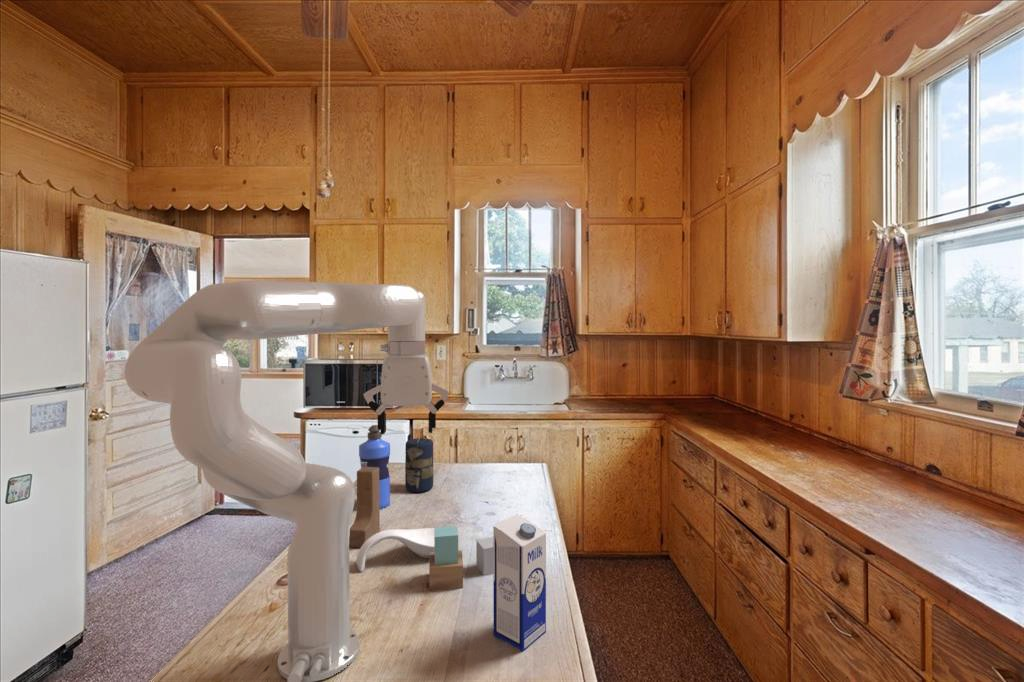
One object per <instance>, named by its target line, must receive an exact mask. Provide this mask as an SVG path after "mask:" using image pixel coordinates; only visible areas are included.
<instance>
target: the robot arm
mask: <svg viewBox="0 0 1024 682" xmlns="http://www.w3.org/2000/svg"><path fill="white" fill-rule="evenodd" d="M375 328H376V329H377V328H379V329H380V328H387V343H384V344H381V345H380V352H384V353H385V352H386V353H387V356H384V357H383V361H382V368H381V369H382V370H381V378H380V379H381V380H380V382H381V383H380V384H379V385H377V386H375V387H373V388H371V389H369V390H367V391H366V392H364V393H363V397H364V399H365V401H366V403H367V405H368V407H369V408H370V409H371V410H373V412H375V414H376V415H377V425H378V430H380V432H381V434H382V435H384V434H386V433H387V413H386V411H385V410H386V409H387V408H388V407H417V406H425V407H426V408H427V409H428V411H429V412H428V433H429V434H432V433H433V429H436V427H437V420H436V416H437V412H439V410H440V409H441V408H442V407H443V406H444V405H445V403H446V401H447V399H448V397H449V395H450V391H449V390H448V389H445V388H443V387H441V386H439V385H437V384H435V383H433V382H432V381H433V380H432V370H431V362H430V357H429V356H426V298H425V294H424V293H423V292H422V291H420V290H417V289H415V288H414V287H412V286H411V285H408V284H400V283H399V284H396V283H395V284H394V283H393V284H390V283H389V284H388V283H387V284H385V283H383V284H382V283H379V284H377V283H375V284H374V283H366V284H365V283H346V282H330V281H329V282H328V281H326V282H325V281H324V282H323V281H320V282H319V281H275V280H274V281H273V280H271V281H270V280H268V281H267V280H245V281H244V280H243V281H233V282H221V283H212V284H208V285H206V286H204V287H202V288H201V289H199V290H197V291H195V292H194V293H193V294H192V295H191V296H189V297H188V298H187V299H186V300H185V301H184V302H183V303H182V304H181V305H180V306H178V307H177V308H176V309H175V310H174V311H173V312H172V313H171V314H170V315H168V317H166V318H165V320H163V321H162V322H161V323H160V324H159V325H158V326H156V327H155V328H154V329H153V330H152V331H151V332H150V333H149V334H148V335H147V336H145V338H143V340H142V341H140V343H139V344H137V345H136V347H134V349H132V351H131V353H130V355H129V356H128V358H127V360H126V361H125V362H126V363H125V365H124V371H123V372H124V379H125V382H126V384H127V386H128V387H129V389H130V390H131V391H132V392H133V393H134V394H136V396H138V397H140V398H143V399H144V400H147V401H151V402H155V403H162V404H170V407H169V408H170V411H169V425H170V426H169V427H170V432H171V437H172V442H173V444H174V446H175V448H176V449H175V450H177V451H178V453H179V454H180V455H181V457H183V458H184V459H185V460H186V461H188V462H189V463H191V464H192V465H194V466H196V467H197V468H199V469H201V470H202V474H203V477H204V479H205V481H206V483H207V484H208V485H209V486H210V487H211V488H212V489H213V490H215V491H216V492H218V493H220V494H222V495H224V496H226V497H227V498H231V499H233V500H235V501H237V502H239V503H241V504H243V505H245V506H247V507H250V508H252V509H253V510H256V511H259V512H260V513H263V514H265V515H267V516H271V517H275V518H277V519H281V520H284V521H288V522H291V523H293V524H295V525H296V526H295V527H296V530H295V532H294V535H293V538H292V540H291V542H290V544H289V547H288V551H287V558H286V560H287V561H286V563H287V564H286V565H287V566H286V570H287V571H286V572H287V637H288V638H287V639H288V640H287V644H286V645H284V646H283V648H282V649H281V650H280V652H279V654H278V657H277V658H278V659H277V670H278V673H279V674H280V675H281V676H282V678H284V679H286V680H287V682H319V681H322V680H326V679H328V678H330V677H333V676H335V675H337V674H338V672H339V673H340V672H342V671H343V670H345V669H346V668H347V667H348V666H350V665H351V664H352V663H353V662H354V660H355V659H356V657H357V656H358V654H359V651H360V638H359V635H358V634H357V632H355V631H354V630H353V629H351V621H350V620H351V619H350V617H351V611H350V610H351V607H350V603H351V602H350V600H351V597H350V547H349V535H350V528H351V522H352V517H353V516H352V515H353V511H354V508H355V507H354V506H355V501H356V488H355V485H354V483H353V481H352V479H351V478H350V476H349V475H347V474H346V473H345V472H344V471H341V470H340V469H337V468H334V467H331V466H325V465H320V464H315V463H308V462H306V461H305V458H304V456H303V455H302V453H301V451H300V450H299V449H298V448H297V447H296V446H295V445H294V444H292V443H291V442H289V441H287V440H286V439H284V438H282V437H280V436H278V435H277V434H275V433H274V432H272V431H271V430H269V429H268V428H266V427H264V426H263V425H261V424H260V423H259V422H257V421H255V420H254V418H252V417H250V416H249V415H248V414H247V413H246V412H245V411H244V409H243V407H242V403H241V390H242V389H241V387H242V370H241V367H240V364H239V362H238V359H237V358H236V356H235V355H234V354H233V352H232V351H230V350H229V349H228V348H226V347H225V346H224V345H225V344H226V343H227V342H228V340H235V341H236V340H239V341H240V340H243V341H244V340H246V341H249V340H251V341H253V340H254V341H255V340H267V339H276V338H278V339H279V338H286V337H295V336H308V335H320V334H331V333H332V334H333V333H343V332H349V331H350V332H351V331H358V330H364V329H365V330H366V329H375ZM433 392H435V393H437V394H439V395H440V398H439V400H438V401H437V402H436V403H435V404H434V402H433V401H432V397H433ZM379 393H380V402H381V404H380V405H379V404H378V402H376V401H375V399H374V396H375V395H376V394H379ZM351 662H352V663H351ZM350 663H351V664H350ZM349 664H350V665H349ZM347 665H348V666H347ZM344 668H345V669H344ZM341 670H342V671H341ZM336 673H337V674H336ZM334 674H335V675H334Z"/></svg>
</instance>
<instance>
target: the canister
mask: <svg viewBox="0 0 1024 682" xmlns="http://www.w3.org/2000/svg"><path fill="white" fill-rule="evenodd" d="M404 447H405V456H404V457H405V459H404V460H405V461H404V462H405V467H404V469H405V470H404V471H405V472H404V474H405V475H404V477H405V481H404V483H405V485H404V486H405V489H406V490H407V491H408V492H412V493H424V492H427V491H430V490H431V489H432V488H433V486H434V441H433V440H432V439H430V438H425V437H424V438H423V437H421V436H419V438H412V439H408V440H407V441H406V442H405V446H404Z"/></svg>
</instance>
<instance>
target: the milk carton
mask: <svg viewBox="0 0 1024 682" xmlns="http://www.w3.org/2000/svg"><path fill="white" fill-rule="evenodd" d="M492 527H493V529H492V530H493V536H492V537H493V578H492V579H493V584H492V585H493V587H492V589H493V590H492V591H493V636H494V637H495V638H497V639H499V640H501V639H502V641H503V642H505V643H506V642H507V643H506V644H508V643H509V644H508V645H510V644H511V645H510V646H512V647H514V648H515V647H516V648H515V649H517V648H518V649H517V650H519V649H520V650H519V651H521V650H522V651H521V652H524V651H525V650H526V649H528V648H529V647H530V646H531V645H533V643H535V642H536V641H537V640H538V639H540V638H541V636H543V635H544V634H546V632H547V532H546V531H544V530H543V529H541V527H539V526H537V525H536V524H535V523H533V522H532V521H530V520H529V519H527V517H523V516H522V515H520V514H518V513H516V514H514V515H512V516H509V517H508V518H505V519H504V520H502V521H499V522H496V524H493V525H492Z"/></svg>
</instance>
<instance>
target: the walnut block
mask: <svg viewBox="0 0 1024 682" xmlns="http://www.w3.org/2000/svg"><path fill="white" fill-rule="evenodd" d="M463 562H464V561H463V550H461V549H460V550H459V549H458V563H454V564H442V565H435V554H434V552H430V558H429V566H428V567H429V570H428V571H429V575H428V577H429V580H428V581H429V587H428V588H429V590H428V591H430V592H431V591H444V590H457V589H464V563H463Z"/></svg>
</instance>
